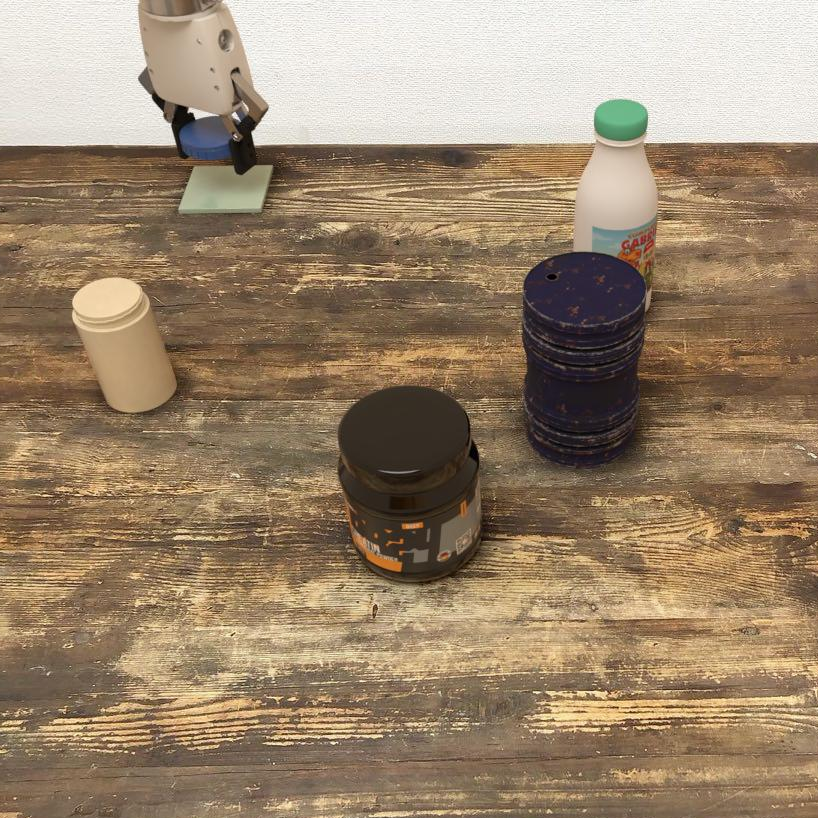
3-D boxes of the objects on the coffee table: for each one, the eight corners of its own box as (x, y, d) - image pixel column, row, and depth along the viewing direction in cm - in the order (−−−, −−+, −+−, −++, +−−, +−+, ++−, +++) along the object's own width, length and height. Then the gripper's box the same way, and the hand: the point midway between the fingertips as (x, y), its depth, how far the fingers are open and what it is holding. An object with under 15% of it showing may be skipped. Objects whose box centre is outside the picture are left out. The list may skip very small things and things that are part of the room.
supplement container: (328, 528, 86) (302, 417, 77) (437, 471, 90) (424, 360, 81) (398, 610, 81) (379, 502, 72) (510, 546, 85) (506, 435, 76)
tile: (179, 214, 117) (177, 209, 116) (195, 170, 123) (194, 165, 122) (261, 212, 117) (260, 208, 116) (273, 169, 123) (272, 164, 122)
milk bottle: (560, 317, 104) (562, 122, 89) (588, 274, 109) (594, 82, 94) (635, 336, 102) (650, 139, 87) (660, 291, 107) (678, 97, 92)
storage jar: (655, 413, 95) (669, 271, 84) (607, 484, 89) (615, 341, 78) (555, 379, 98) (556, 238, 87) (503, 445, 93) (497, 303, 81)
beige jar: (119, 422, 95) (81, 329, 87) (95, 383, 98) (56, 290, 91) (187, 395, 97) (156, 302, 89) (161, 358, 101) (130, 265, 93)
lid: (260, 136, 117) (257, 123, 115) (221, 166, 112) (218, 153, 111) (209, 123, 119) (205, 110, 117) (168, 151, 114) (165, 138, 113)
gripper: (274, -8, 103) (304, 163, 117) (132, -39, 108) (177, 128, 122) (226, 22, 99) (264, 196, 112) (81, -12, 104) (133, 159, 117)
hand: (218, 159), depth 117 cm, fingers closed on lid, 6 cm apart
